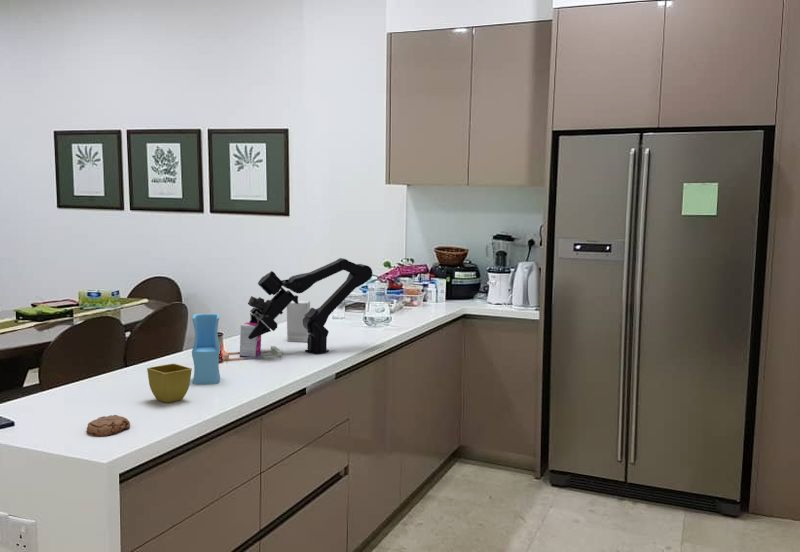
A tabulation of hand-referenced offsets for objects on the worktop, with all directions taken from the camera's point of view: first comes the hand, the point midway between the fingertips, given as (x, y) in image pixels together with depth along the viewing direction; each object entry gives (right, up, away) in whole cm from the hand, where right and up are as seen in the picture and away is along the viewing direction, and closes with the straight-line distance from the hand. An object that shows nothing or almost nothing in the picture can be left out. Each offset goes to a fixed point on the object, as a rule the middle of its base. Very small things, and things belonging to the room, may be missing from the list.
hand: (246, 336), depth 257 cm
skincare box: (+14, -4, +30) cm, 34 cm away
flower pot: (-10, -13, -54) cm, 57 cm away
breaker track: (+1, -7, +1) cm, 7 cm away
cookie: (-16, -16, -80) cm, 84 cm away
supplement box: (+1, -7, +1) cm, 7 cm away
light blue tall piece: (-5, -11, -33) cm, 35 cm away
